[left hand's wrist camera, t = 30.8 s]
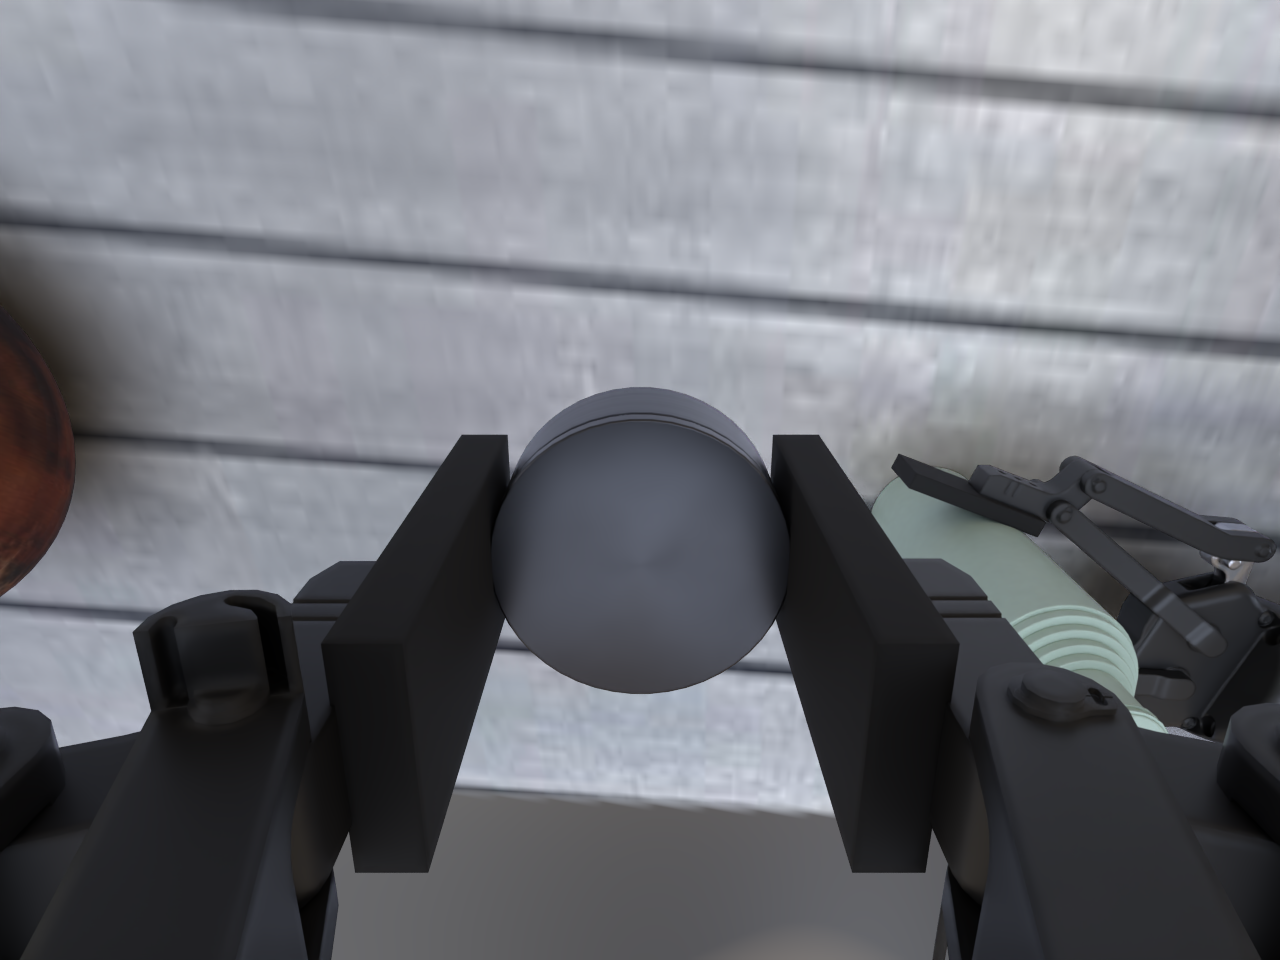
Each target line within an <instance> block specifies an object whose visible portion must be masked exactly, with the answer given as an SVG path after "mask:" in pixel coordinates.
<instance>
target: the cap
mask: <svg viewBox="0 0 1280 960" xmlns="http://www.w3.org/2000/svg"><path fill="white" fill-rule="evenodd" d="M490 543H491V559H492V574H493V587H494V593H495V595H496V598H497V601H498V604H499V606H500V609H501V611H502V612H503V614H504V616H505V618H506V620H507V622H508V624H509V625H510V627H511V628H512V629H513V631H514V632H515V634H516V635H517V636H518V638H519V639H520V640H521V641H522V642H523V643H524V644H525V645H526V647H527V648H528V649H529V650H530V651H531V652H532V653H533V654H535V655H536V656H537V657H538V658H539V659H541V660H542V661H543V662H544V663H546V664H547V665H549V666H550V667H552V668H553V669H555V670H556V671H558V672H559V673H561V674H563V675H565V676H567V677H569V678H571V679H573V680H575V681H578V682H580V683H583V684H586V685H589V686H592V687H595V688H599V689H603V690H608V691H612V692H620V693H629V694H653V693H662V692H669V691H674V690H678V689H683V688H687V687H690V686H693V685H696V684H698V683H701V682H704V681H706V680H708V679H710V678H712V677H714V676H716V675H719V674H721V673H722V672H724V671H725V670H727V669H728V668H730V667H731V666H733V665H735V664H736V663H737V662H738V661H740V660H741V659H742V658H743V657H745V656H746V655H747V654H748V653H749V652H750V651H751V650H752V649H753V648H754V647H755V646H756V645H757V644H758V643H759V642H760V641H761V640H762V638H763V637H764V636H765V634H766V633H767V632H768V630H769V629H770V627H771V626H772V625H773V623H774V621H775V619H776V617H777V615H778V614H779V612H780V610H781V608H782V605H783V602H784V600H785V597H786V594H787V583H788V569H789V554H790V530H789V525H788V521H787V518H786V515H785V513H784V510H783V507H782V505H781V502H780V500H779V497H778V495H777V493H776V490H775V488H774V486H773V483H772V481H771V479H770V476H769V474H768V471H767V469H766V467H765V464H764V462H763V460H762V458H761V456H760V455H759V453H758V451H757V449H756V447H755V446H754V445H753V443H752V442H751V441H750V439H749V438H748V437H747V435H746V434H745V433H744V432H743V431H742V430H741V429H740V428H739V427H738V426H737V425H736V424H735V423H734V422H733V421H732V420H731V419H729V418H728V417H727V416H726V415H724V414H723V413H722V412H720V411H719V410H717V409H716V408H714V407H712V406H710V405H709V404H707V403H705V402H703V401H701V400H699V399H696V398H694V397H691V396H689V395H686V394H683V393H679V392H675V391H671V390H667V389H659V388H651V387H630V388H622V389H614V390H610V391H606V392H602V393H599V394H595V395H593V396H590V397H588V398H585V399H583V400H580V401H578V402H576V403H575V404H573V405H571V406H569V407H568V408H566V409H564V410H563V411H561V412H560V413H559V414H557V415H556V416H555V417H553V418H552V419H551V420H549V421H548V422H547V423H546V424H545V425H544V426H543V427H542V428H541V429H540V430H539V431H538V432H537V433H536V435H535V436H534V437H533V439H532V440H531V441H530V443H529V444H528V445H527V447H526V448H525V450H524V452H523V454H522V456H521V457H520V459H519V461H518V463H517V466H516V468H515V470H514V473H513V475H512V477H511V480H510V482H509V485H508V487H507V489H506V492H505V494H504V496H503V499H502V501H501V504H500V506H499V509H498V511H497V514H496V517H495V519H494V523H493V528H492V532H491V536H490Z"/></svg>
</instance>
